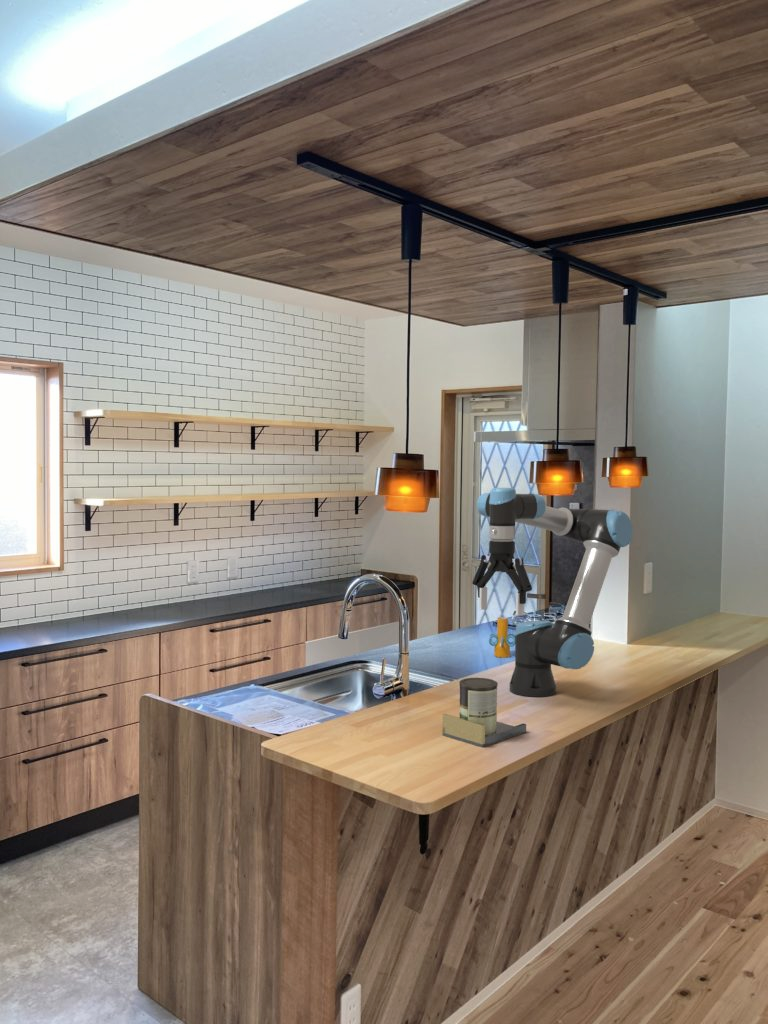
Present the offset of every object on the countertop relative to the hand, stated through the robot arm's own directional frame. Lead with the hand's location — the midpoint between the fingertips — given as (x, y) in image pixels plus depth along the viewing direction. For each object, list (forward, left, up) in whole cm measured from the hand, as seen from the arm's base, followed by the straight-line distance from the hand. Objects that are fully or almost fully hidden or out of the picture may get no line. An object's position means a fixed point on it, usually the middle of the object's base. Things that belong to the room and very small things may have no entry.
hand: (501, 612), depth 252 cm
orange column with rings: (-65, -50, -31) cm, 88 cm away
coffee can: (+20, +9, -30) cm, 37 cm away
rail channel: (+18, +9, -31) cm, 36 cm away
